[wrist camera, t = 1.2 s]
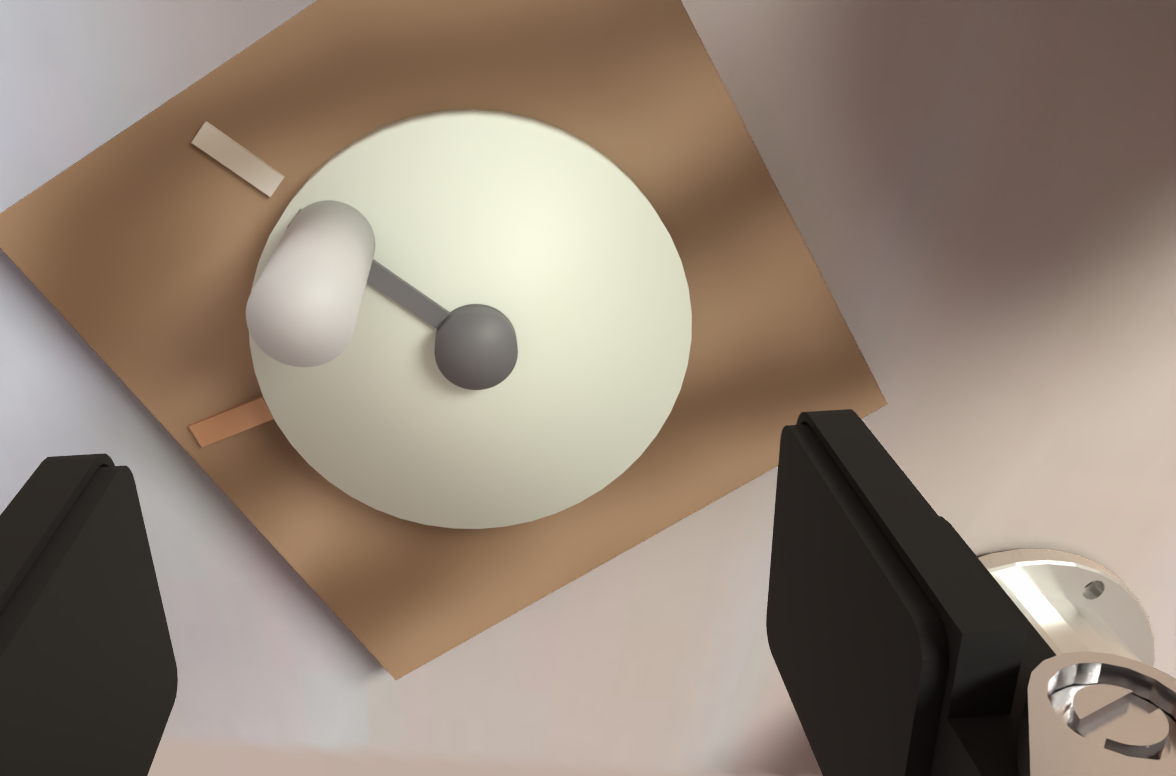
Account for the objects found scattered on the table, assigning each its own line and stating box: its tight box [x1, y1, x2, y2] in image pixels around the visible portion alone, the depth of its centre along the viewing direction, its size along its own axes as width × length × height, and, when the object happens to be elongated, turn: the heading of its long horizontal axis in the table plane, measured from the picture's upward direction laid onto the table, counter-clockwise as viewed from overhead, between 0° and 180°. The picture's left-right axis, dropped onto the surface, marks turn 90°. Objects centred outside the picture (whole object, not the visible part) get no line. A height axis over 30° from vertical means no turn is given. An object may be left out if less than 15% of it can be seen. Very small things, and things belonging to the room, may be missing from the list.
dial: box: [246, 109, 692, 529], centre depth 28 cm, size 13×13×8 cm
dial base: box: [0, 0, 887, 680], centre depth 32 cm, size 20×20×2 cm
